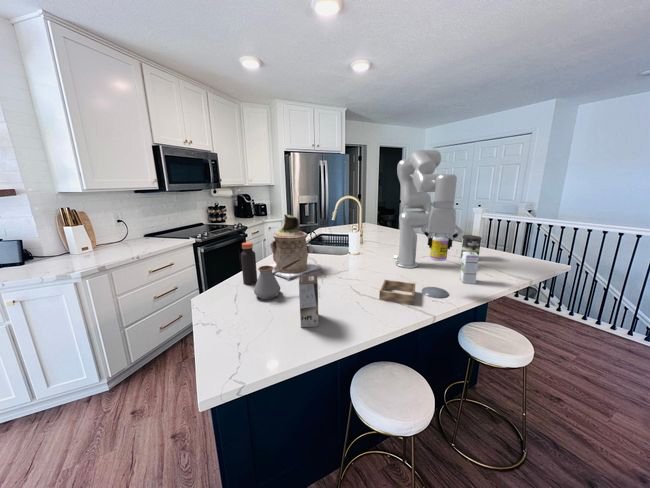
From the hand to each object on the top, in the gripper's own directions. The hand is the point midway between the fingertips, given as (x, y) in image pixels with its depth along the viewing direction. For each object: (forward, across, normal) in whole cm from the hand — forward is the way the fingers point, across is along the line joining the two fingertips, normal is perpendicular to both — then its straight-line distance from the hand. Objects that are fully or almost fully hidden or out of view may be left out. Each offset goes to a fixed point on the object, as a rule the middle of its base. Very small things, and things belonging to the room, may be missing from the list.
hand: (439, 247), depth 109 cm
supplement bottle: (+5, 0, 0) cm, 5 cm away
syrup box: (+21, +15, +19) cm, 32 cm away
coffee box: (+21, -42, -41) cm, 62 cm away
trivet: (+21, 0, 0) cm, 21 cm away
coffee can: (+21, +20, +62) cm, 68 cm away
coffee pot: (+21, -65, -26) cm, 73 cm away
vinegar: (+21, -85, -19) cm, 90 cm away
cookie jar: (+21, -75, +4) cm, 78 cm away
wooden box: (+21, -15, -9) cm, 27 cm away
